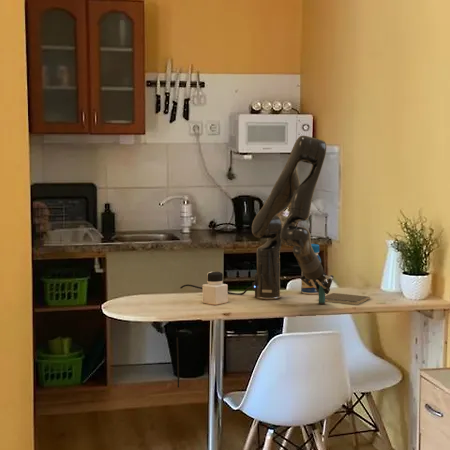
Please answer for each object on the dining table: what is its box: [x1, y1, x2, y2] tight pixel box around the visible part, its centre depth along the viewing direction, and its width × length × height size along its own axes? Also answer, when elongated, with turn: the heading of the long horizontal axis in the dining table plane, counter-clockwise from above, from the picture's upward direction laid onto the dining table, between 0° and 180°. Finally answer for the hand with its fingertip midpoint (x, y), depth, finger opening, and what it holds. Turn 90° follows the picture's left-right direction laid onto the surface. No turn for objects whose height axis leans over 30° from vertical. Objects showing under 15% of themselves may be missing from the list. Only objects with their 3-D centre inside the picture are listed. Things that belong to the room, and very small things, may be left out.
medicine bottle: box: [201, 271, 229, 306], centre depth 291 cm, size 7×7×12 cm
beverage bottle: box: [300, 243, 322, 295], centre depth 309 cm, size 8×8×20 cm
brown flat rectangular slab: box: [325, 292, 371, 306], centre depth 295 cm, size 16×13×1 cm
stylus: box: [318, 285, 326, 306], centre depth 286 cm, size 2×2×8 cm
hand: (324, 291), depth 288 cm, fingers closed on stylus, 2 cm apart
